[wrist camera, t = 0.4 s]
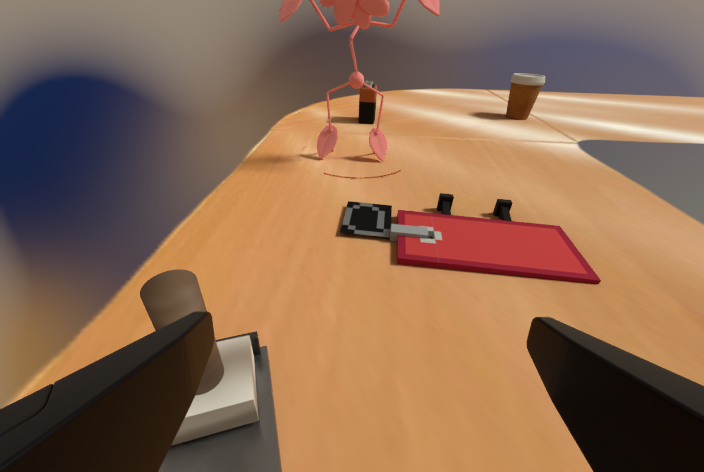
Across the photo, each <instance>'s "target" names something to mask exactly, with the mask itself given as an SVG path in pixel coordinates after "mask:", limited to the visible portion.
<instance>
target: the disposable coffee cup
mask: <svg viewBox="0 0 704 472" xmlns="http://www.w3.org/2000/svg"><path fill="white" fill-rule="evenodd" d="M544 83H545V76H542V75H536V74H526V73H515V74H514V75H513V77H512V78H511V88H510V94H509V100H508V107H507V113H506V116H507V117H508V118H512V119H519V120H525V119H527V118H528V116H529V114H530V111H531V109H532V107H533V105H534V103H535V101H536V98H537V96H538V94H539V92H540V90H541V87H542V85H543V84H544Z"/></svg>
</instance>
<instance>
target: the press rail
mask: <svg viewBox="0 0 704 472" xmlns="http://www.w3.org/2000/svg"><path fill="white" fill-rule="evenodd" d="M247 335H249V336H250V340H251V345H252V350H253V354H254V364H255V377H256V391H257V404H258V418H259V421H256V422H253V423H249V424H246V425H242V426H238V427H235V428H231V429H228V430H224V431H221V432H217V433H214V434H210V435H207V436H203V437H200V438H196V439H193V440H189V441H186V442H182V443H179V444H175V445H172V446H171V447H170V449H169V451H168V453H167V455H166V457H165V459H164V461H163V463H162V465H161V467H160V469H159V472H282V468H281V460H280V451H279V443H278V434H277V425H276V417H275V408H274V400H273V391H272V383H271V374H270V366H269V357H268V351H267V346H263V347H260V344H259V339H258V334H257V332H252V333H247V334H243V335H238V336H233V337H228V338H224V339H219V340H216V342H219V341H224V340H229V339H233V338H238V337H243V336H247Z"/></svg>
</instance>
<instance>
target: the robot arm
mask: <svg viewBox="0 0 704 472" xmlns="http://www.w3.org/2000/svg"><path fill="white" fill-rule="evenodd" d="M214 340H215V337H214V329H213V321H212V316H211V313H209V312H204V311H195V312H192V313H190V314H188V315H186V316H184V317H182V318H180V319H178V320H177V321H175V322H173V323H171V324H169V325H167V326H165V327H163V328H161V329H159V330H157V331H155V332H153V333H151V334H149V335H147V336H145V337H143V338H141V339H139V340H137V341H135V342H133V343H131V344H129V345H127V346H125V347H123V348H121V349H119V350H117V351H115V352H113V353H111V354H109V355H107V356H105V357H103V358H102V359H100V360H98V361H96V362H94V363H92V364H90V365H88V366H86V367H84V368H82V369H80V370H78V371H76V372H74V373H72V374H70V375H68V376H66V377H64V378H62V379H60V380H58V381H56V382H55V383H54V385H53V384H50V385H48V386H46V387H44V388H42V389H40V390H38V391H36V392H34V393H32V394H30V395H28V396H26V397H24V398H22V399H20V400H18V401H16V402H14V403H12V404H10V405H8V406H6V407H4V408H2V409H0V472H159V469H160V467H161V465H162V463H163V461H164V459H165V457H166V455H167V453H168V451H169V449H170V447H171V445H172V443H173V441H174V439H175V437H176V435H177V433H178V431H179V429H180V427H181V425H182V423H183V421H184V418H185V416H186V414H187V412H188V410H189V408H190V406H191V404H192V402H193V400H194V398H195V395H196V392H197V390H198V387H199V385H200V382H201V379H202V376H203V373H204V371H205V368H206V365H207V362H208V360H209V357H210V354H211V351H212V349H213V346H214ZM527 349H528V352H529V354H530V356H531V358H532V360H533V362H534V364H535V367H536V369H537V371H538V373H539V375H540V377H541V379H542V382H543V384H544V386H545V388H546V390H547V392H548V394H549V396H550V398H551V400H552V402H553V404H554V406H555V407H556V409H557V411H558V413H559V414H560V416H561V418H562V419H563V421H564V423H565V424H566V426H567V428H568V429H569V431H570V433H571V435H572V436H573V438H574V440H575V441H576V443H577V445H578V446H579V448H580V450H581V451H582V453H583V455H584V457H585V458H586V460H587V462H588V463H589V465H590V467H591V468H592V470H593V472H704V386H702V385H700V384H698V383H696V382H693V381H691V380H689V379H687V378H685V377H682V376H680V375H678V374H676V373H673V372H671V371H669V370H667V369H664V368H662V367H660V366H658V365H655V364H653V363H651V362H649V361H647V360H644V359H642V358H640V357H638V356H635V355H633V354H631V353H629V352H626V351H624V350H622V349H620V348H618V347H615V346H613V345H611V344H609V343H606V342H604V341H602V340H600V339H597V338H595V337H593V336H591V335H589V334H586V333H584V332H582V331H580V330H577V329H575V328H573V327H571V326H568V325H566V324H564V323H562V322H560V321H557V320H555V319H553V318H550V317H535V318H534V319H533V320H532V323H531V326H530V330H529V334H528V338H527Z"/></svg>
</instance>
